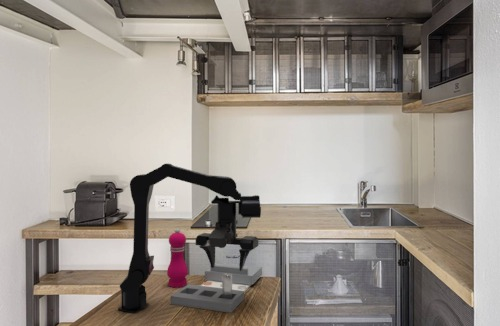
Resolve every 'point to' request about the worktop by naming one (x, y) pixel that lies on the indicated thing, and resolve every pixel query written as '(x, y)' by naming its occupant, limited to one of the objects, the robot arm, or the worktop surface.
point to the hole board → (206, 298)
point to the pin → (227, 286)
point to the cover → (234, 273)
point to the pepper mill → (177, 260)
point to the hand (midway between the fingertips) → (226, 269)
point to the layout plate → (219, 285)
